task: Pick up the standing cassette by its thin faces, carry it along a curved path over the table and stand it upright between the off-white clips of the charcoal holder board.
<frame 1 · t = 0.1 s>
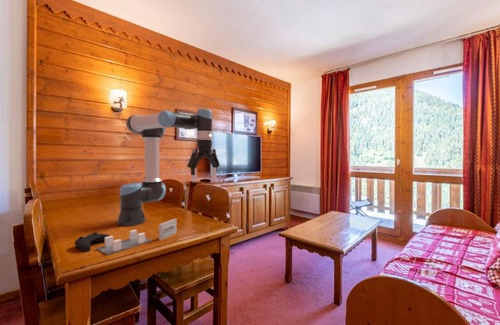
hand: (204, 180, 127), 28 cm above the table, tool pointing down, fingers open, 13 cm apart
cassette: (168, 236, 123), on the table
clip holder: (125, 245, 110), on the table
gaming controller: (92, 246, 110), on the table
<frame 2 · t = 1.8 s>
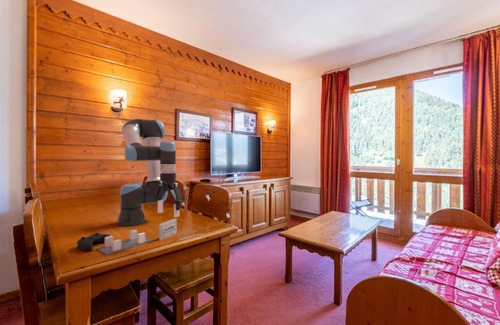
hand: (168, 214, 122), 11 cm above the table, tool pointing down, fingers open, 13 cm apart
gaming controller: (94, 246, 110), on the table
everything else where it was.
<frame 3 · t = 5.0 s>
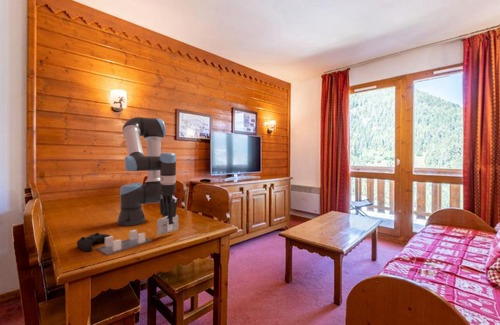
hand: (167, 229, 123), 3 cm above the table, tool pointing down, fingers closed on cassette, 2 cm apart
cassette: (167, 232, 123), point 2 cm above the table, touching gripper
everything else where it was.
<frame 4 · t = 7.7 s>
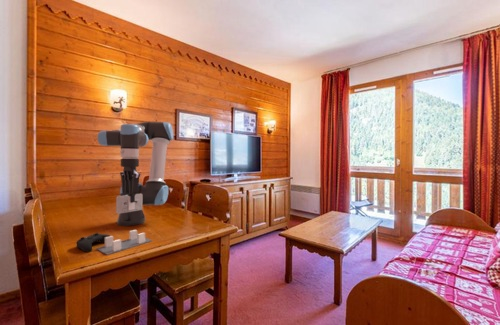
hand: (129, 209, 112), 16 cm above the table, tool pointing down, fingers closed on cassette, 2 cm apart
cassette: (129, 212, 112), point 15 cm above the table, touching gripper
everything else where it was.
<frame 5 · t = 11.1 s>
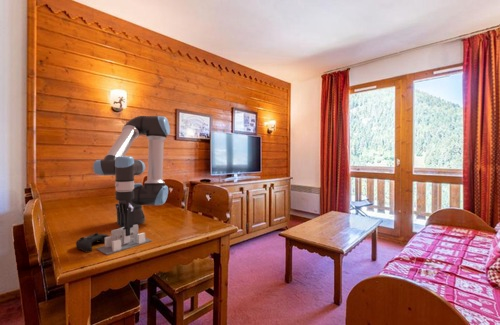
hand: (125, 241, 110), 2 cm above the table, tool pointing down, fingers closed on cassette, 2 cm apart
cassette: (125, 244, 110), resting on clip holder, touching gripper
everything else where it was.
when the fingers open (2 cm above the table, at t = 11.1 s): cassette stays where it is, resting on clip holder.
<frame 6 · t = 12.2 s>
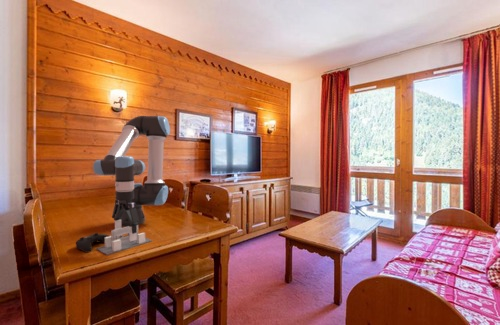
hand: (125, 237, 110), 4 cm above the table, tool pointing down, fingers open, 13 cm apart
cassette: (125, 244, 110), resting on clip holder
everything else where it was.
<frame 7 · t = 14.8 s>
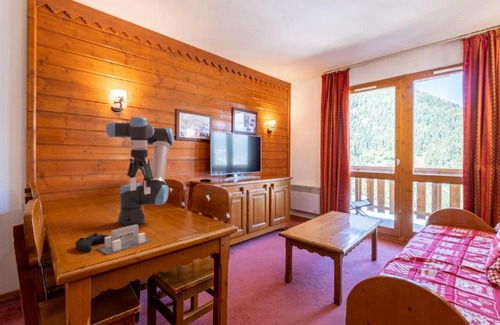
hand: (140, 192, 120), 23 cm above the table, tool pointing down, fingers open, 13 cm apart
nothing on the table moved.
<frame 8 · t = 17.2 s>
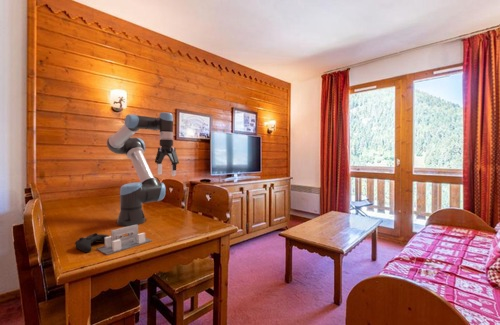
hand: (166, 175, 144), 29 cm above the table, tool pointing down, fingers open, 13 cm apart
nothing on the table moved.
at the end: cassette 0.1 cm off-centre on the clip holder, point 0.3 cm above the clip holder's base; cassette tilted 0°; the gripper is holding nothing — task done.
